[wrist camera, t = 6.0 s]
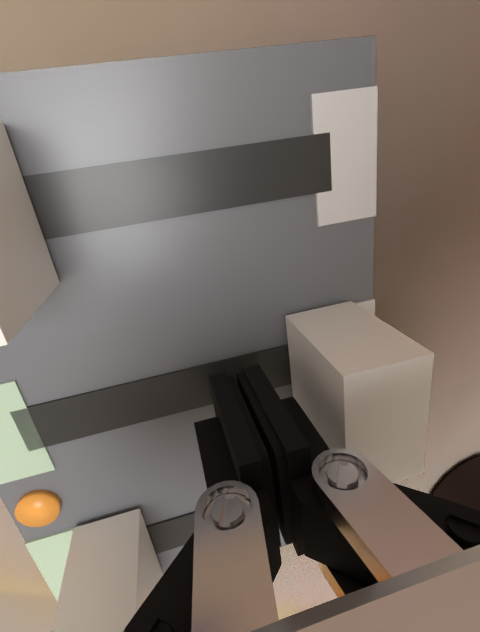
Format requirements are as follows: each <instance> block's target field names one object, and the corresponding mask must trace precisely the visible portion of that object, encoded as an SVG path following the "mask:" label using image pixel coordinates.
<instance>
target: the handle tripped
mask: <svg viewBox="0 0 480 632" xmlns="http://www.w3.org/2000/svg"><path fill="white" fill-rule="evenodd" d="M285 319H286V329H287V340H288V350H289V361H290V371H291V381H292V392H293V397H294V398H295V399H296V401H297V402H298V404H299V405H300V406H301V408H302V409H303V411H304V412H305V414H306V415H307V417H308V418H309V419H310V421H311V422H312V424H313V425H314V427H315V428H316V430H317V431H318V432H319V434H320V435H321V437H322V438H323V440H324V441H325V443H326V444H327V445H328V447H329V448H330V449H338V448H343V449H349V450H352V451H355V452H357V453H360V454H361V455H362V456H364V457H365V458H367V459H368V460H369V461H370V462H371V463H372V464H373V465H374V466H375V467H376V468H377V469H378V470H379V471H380V472H381V473H383V474H384V475H385V476H386V477H387V478H388V479H389V480H390V481H391V482H392V483H398V482H401V481H404V480H407V479H410V478H413V477H417V476H420V475H423V474H424V465H425V453H426V442H427V431H428V419H429V408H430V396H431V385H432V374H433V362H434V353H433V352H431V351H430V350H428V349H427V348H425V347H424V346H422V345H420V344H419V343H417V342H416V341H414V340H412V339H411V338H409V337H408V336H406V335H404V334H403V333H401V332H400V331H398V330H397V329H395V328H393V327H392V326H390V325H389V324H387V323H385V322H384V321H382V320H381V319H379V318H377V317H376V316H374V315H373V314H371V313H370V312H368V311H366V310H365V309H363V308H362V307H360V306H358V305H357V304H355V303H354V302H352V301H348V302H344V303H339V304H335V305H330V306H326V307H321V308H317V309H312V310H308V311H304V312H299V313H295V314H290V315H286V316H285Z"/></svg>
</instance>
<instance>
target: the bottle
mask: <svg viewBox="0 0 480 632" xmlns="http://www.w3.org/2000/svg"><path fill="white" fill-rule="evenodd" d="M432 495H433V496H436V497H440V498H443V499H446V500H449V501H452V502H456V503H459V504H462V505H465V506H468V507H470V508H473V509H475V510H478V511H480V456H478V457H474V458H472V459H471V460H469V461H467V462H465V463H463V464H461V465H459V466H458V467H457V468H455V469H454V470H453V471H452V472H450V473H449V474H448V475H447V476H446V477H445V478H444V479H443V480H442V481H441V483H440V484H439V485H438V486H437V487H436V489H435V490H434V492H433V494H432Z"/></svg>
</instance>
